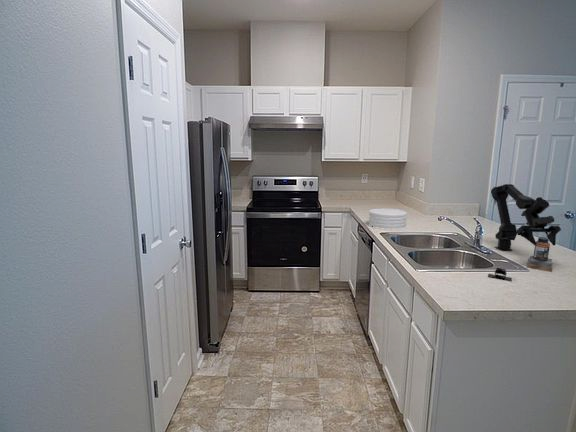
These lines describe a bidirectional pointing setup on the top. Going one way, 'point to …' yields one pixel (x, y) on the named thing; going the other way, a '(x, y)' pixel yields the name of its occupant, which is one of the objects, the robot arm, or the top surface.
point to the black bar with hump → (500, 271)
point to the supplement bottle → (541, 249)
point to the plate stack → (387, 218)
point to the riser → (540, 264)
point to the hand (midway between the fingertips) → (544, 245)
